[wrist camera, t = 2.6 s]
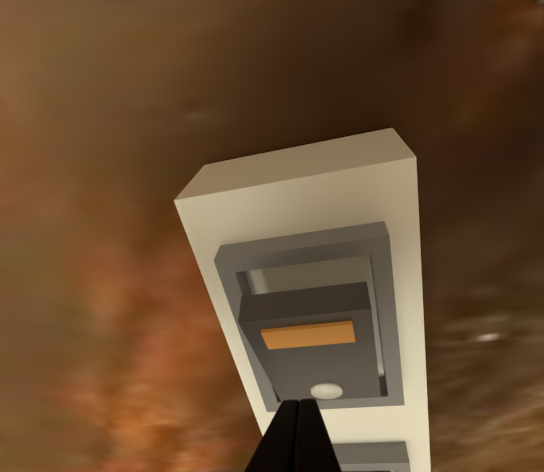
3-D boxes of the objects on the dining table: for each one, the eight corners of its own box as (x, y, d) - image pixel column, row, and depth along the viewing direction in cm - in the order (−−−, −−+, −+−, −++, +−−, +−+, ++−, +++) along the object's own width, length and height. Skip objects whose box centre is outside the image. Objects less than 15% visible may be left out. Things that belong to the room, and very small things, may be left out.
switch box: (417, 472, 25) (438, 564, 21) (304, 474, 27) (301, 559, 23) (392, 127, 14) (424, 167, 10) (204, 164, 16) (162, 212, 12)
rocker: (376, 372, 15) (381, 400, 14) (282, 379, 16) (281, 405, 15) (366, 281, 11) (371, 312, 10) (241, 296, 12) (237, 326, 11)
